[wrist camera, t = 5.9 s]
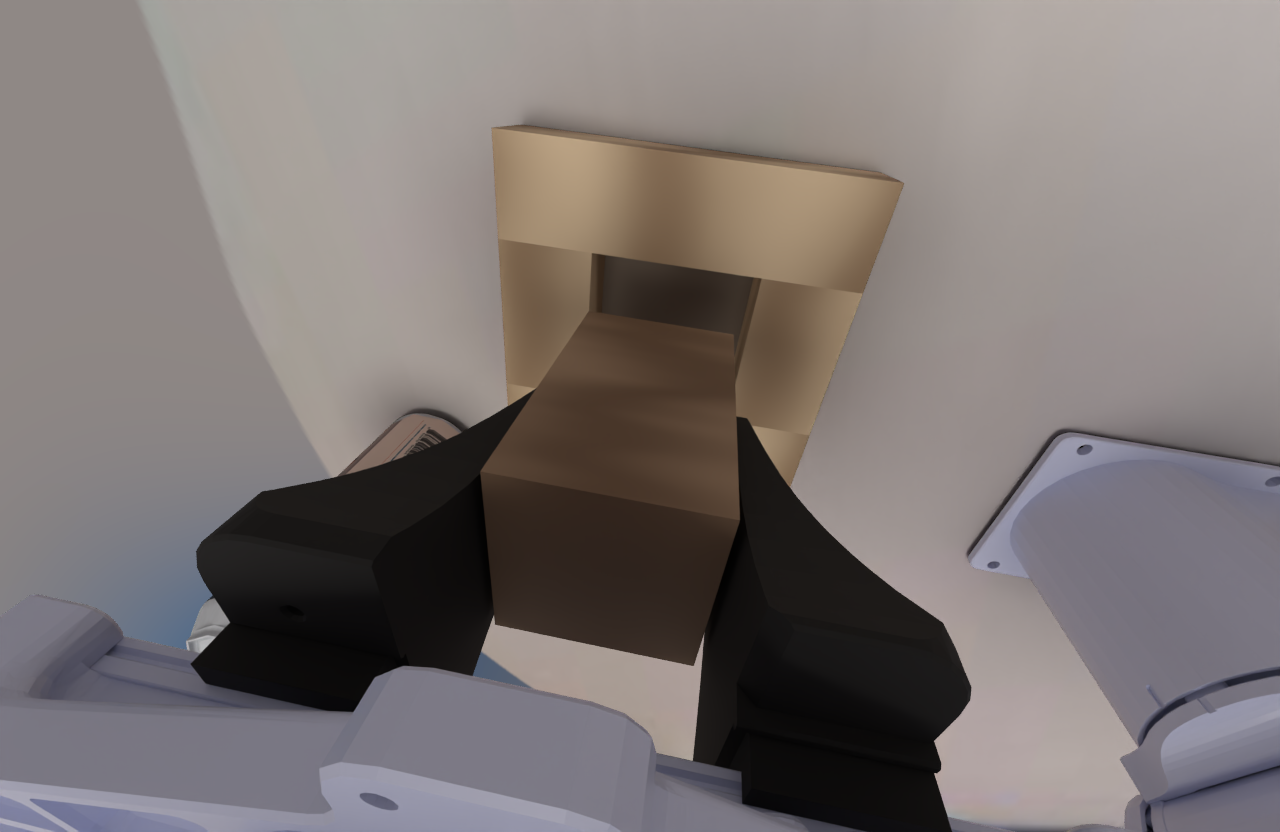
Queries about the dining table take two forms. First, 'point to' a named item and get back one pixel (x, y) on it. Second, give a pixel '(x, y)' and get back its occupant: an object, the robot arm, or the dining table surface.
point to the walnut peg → (618, 490)
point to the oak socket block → (688, 259)
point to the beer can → (389, 446)
